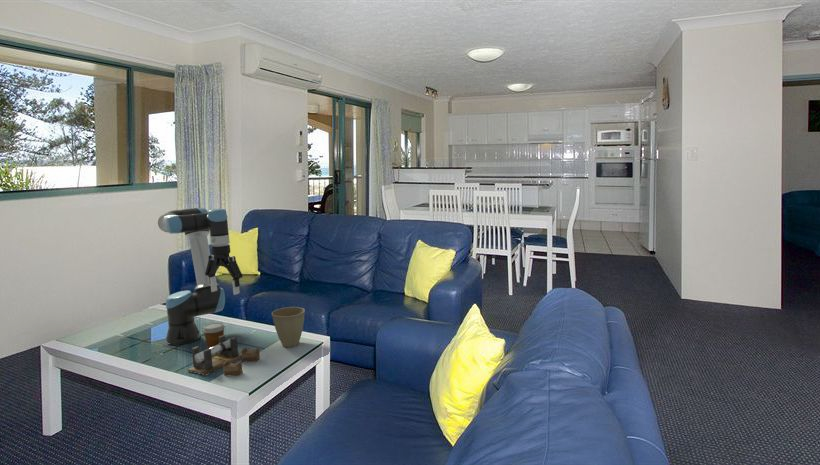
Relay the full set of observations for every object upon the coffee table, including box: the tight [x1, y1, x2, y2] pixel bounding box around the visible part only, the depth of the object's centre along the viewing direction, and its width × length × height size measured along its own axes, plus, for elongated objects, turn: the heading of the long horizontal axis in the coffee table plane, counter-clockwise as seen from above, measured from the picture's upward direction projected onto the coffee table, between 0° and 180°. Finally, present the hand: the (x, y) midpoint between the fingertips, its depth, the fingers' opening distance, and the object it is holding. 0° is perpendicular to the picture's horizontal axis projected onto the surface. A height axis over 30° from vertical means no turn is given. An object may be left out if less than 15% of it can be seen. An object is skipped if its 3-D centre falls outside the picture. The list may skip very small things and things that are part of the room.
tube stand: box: [222, 346, 261, 377], centre depth 210 cm, size 17×7×5 cm, turn 167°
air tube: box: [195, 338, 231, 363], centre depth 214 cm, size 18×4×4 cm, turn 152°
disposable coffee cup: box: [202, 321, 225, 349], centre depth 229 cm, size 10×10×12 cm
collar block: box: [187, 334, 242, 376], centre depth 214 cm, size 10×21×10 cm, turn 153°
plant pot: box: [271, 306, 306, 348], centre depth 233 cm, size 15×15×16 cm
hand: (225, 292), depth 220 cm, fingers open, 13 cm apart
